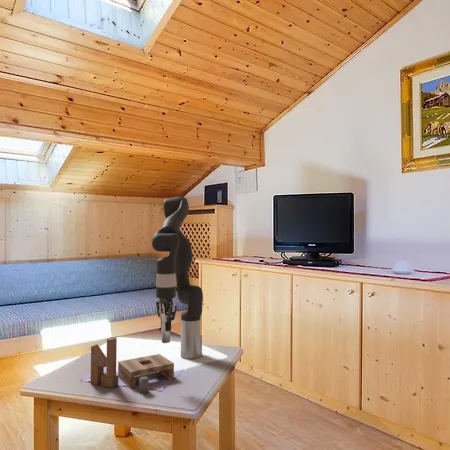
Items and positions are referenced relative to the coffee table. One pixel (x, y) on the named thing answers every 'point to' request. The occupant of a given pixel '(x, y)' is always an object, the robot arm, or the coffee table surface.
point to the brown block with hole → (144, 368)
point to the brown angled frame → (104, 364)
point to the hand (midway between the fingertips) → (165, 329)
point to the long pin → (165, 333)
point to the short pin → (143, 385)
